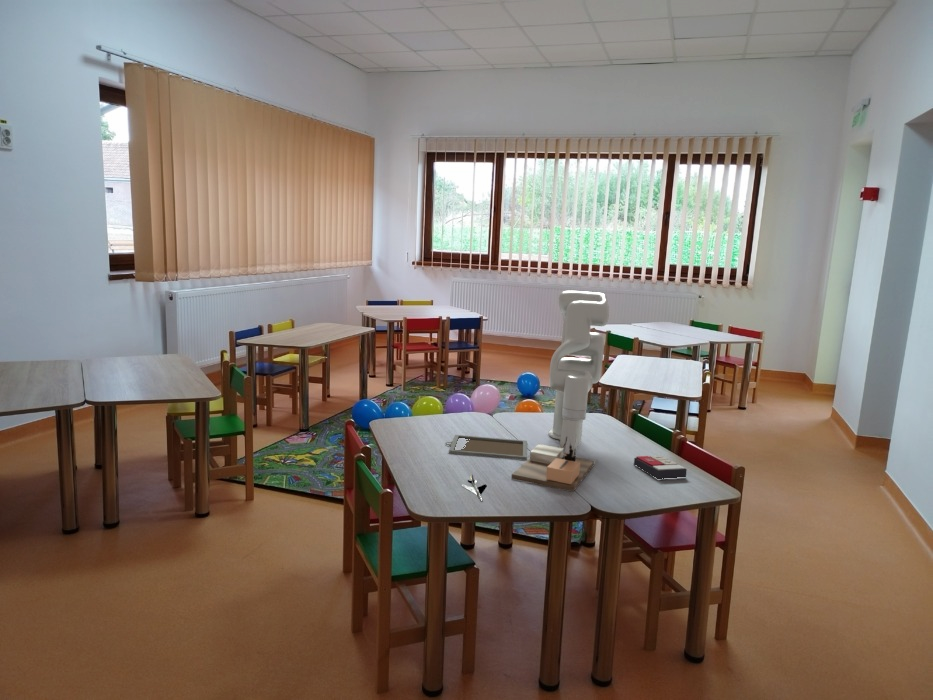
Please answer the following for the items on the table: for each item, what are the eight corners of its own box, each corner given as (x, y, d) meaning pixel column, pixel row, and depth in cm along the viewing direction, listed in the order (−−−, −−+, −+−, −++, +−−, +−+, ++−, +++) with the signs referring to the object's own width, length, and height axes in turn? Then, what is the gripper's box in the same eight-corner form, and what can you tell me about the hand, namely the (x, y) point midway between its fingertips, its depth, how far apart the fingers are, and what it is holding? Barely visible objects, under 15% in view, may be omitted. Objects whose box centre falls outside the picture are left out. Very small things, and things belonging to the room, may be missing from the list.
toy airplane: (468, 503, 180) (469, 495, 179) (457, 476, 200) (458, 469, 200) (495, 503, 181) (495, 495, 181) (481, 476, 201) (481, 469, 201)
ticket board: (538, 454, 225) (539, 442, 224) (594, 464, 217) (595, 452, 216) (511, 478, 200) (512, 465, 199) (573, 491, 192) (574, 477, 191)
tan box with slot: (555, 469, 205) (556, 457, 204) (579, 474, 202) (580, 462, 201) (546, 479, 196) (547, 466, 195) (571, 484, 193) (572, 471, 192)
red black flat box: (661, 454, 223) (687, 466, 208) (660, 466, 223) (686, 479, 209) (633, 455, 219) (658, 468, 205) (633, 467, 220) (657, 481, 206)
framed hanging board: (527, 457, 218) (441, 449, 221) (526, 461, 218) (441, 454, 221) (527, 440, 237) (448, 434, 240) (526, 444, 237) (448, 438, 240)
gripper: (568, 406, 210) (564, 458, 213) (556, 416, 197) (551, 472, 200) (591, 409, 207) (586, 463, 210) (579, 420, 194) (574, 476, 197)
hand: (569, 467), depth 205 cm, fingers closed
